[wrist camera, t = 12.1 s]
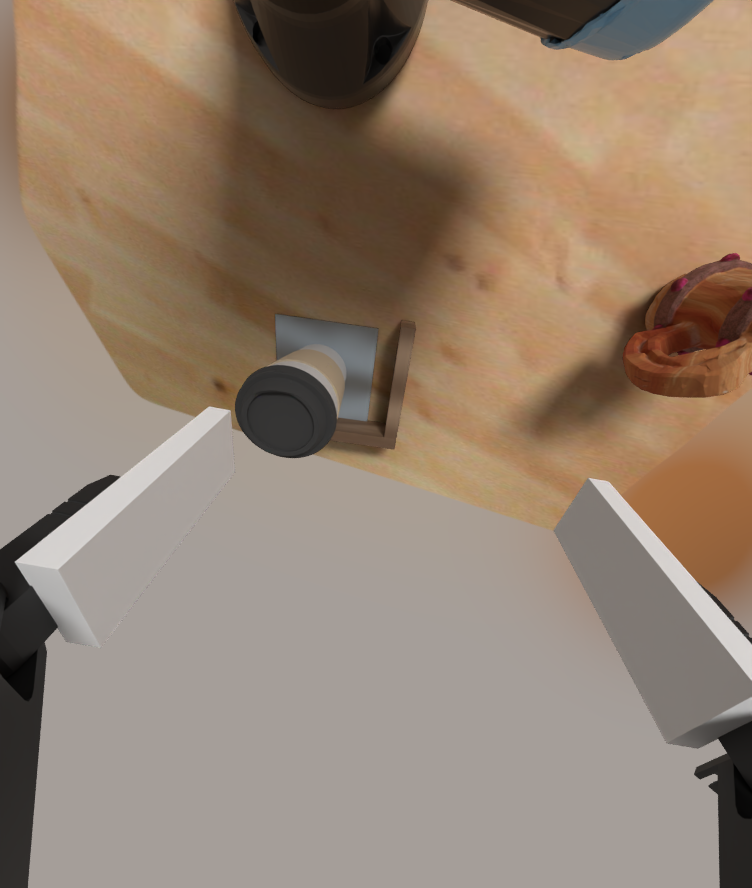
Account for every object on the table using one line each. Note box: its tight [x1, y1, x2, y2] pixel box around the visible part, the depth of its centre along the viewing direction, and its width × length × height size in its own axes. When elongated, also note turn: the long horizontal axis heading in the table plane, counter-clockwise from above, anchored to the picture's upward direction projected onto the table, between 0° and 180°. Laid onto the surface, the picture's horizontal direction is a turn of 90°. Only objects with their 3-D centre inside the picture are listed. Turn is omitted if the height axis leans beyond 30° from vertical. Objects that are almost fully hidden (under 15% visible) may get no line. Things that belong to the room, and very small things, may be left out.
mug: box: [623, 253, 752, 398], centre depth 28 cm, size 15×8×15 cm, turn 120°
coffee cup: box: [235, 344, 346, 458], centre depth 34 cm, size 9×9×15 cm
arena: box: [275, 314, 416, 449], centre depth 39 cm, size 15×17×4 cm
